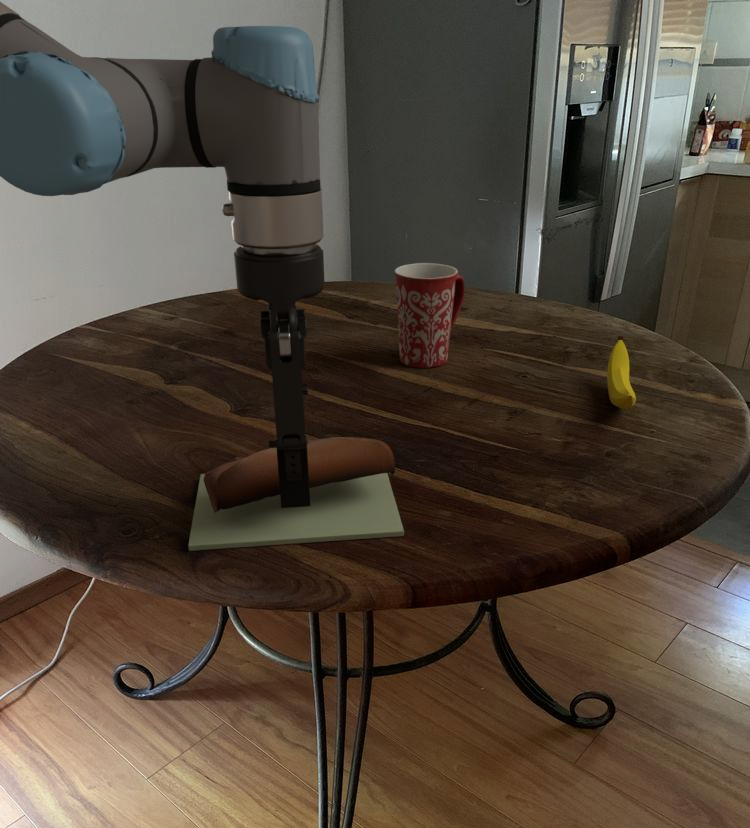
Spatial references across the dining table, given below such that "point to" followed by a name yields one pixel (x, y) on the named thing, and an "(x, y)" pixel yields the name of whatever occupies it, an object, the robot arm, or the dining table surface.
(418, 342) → the mug
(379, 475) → the mat
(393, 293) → the dining table surface
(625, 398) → the banana
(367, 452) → the sunglasses case
